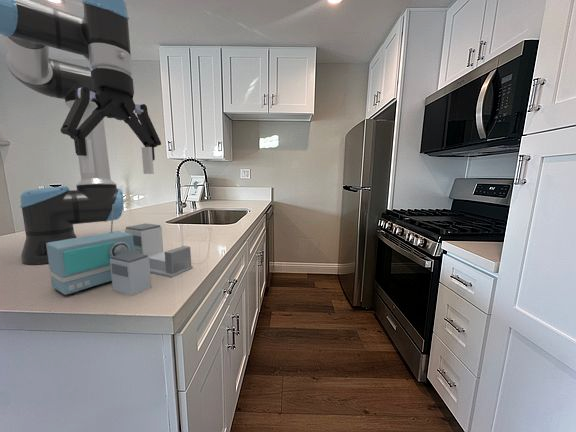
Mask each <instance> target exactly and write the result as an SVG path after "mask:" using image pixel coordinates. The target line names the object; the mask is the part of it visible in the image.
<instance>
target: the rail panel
mask: <svg viewBox="0 0 576 432" xmlns="http://www.w3.org/2000/svg"><path fill="white" fill-rule="evenodd" d="M165 252H166V251H163V252H160V253H157V254H154V255H151V256H148V257H149V263H150V274H154V275H158V276H163V277H167V278H173V277H175V276H178V275H180V274H182V273H185V272H186V271H190V270H191V269H193V267H194V266H193V265H191V266H190V262H189V261H190V259H189V260H188V258H190V257H188V258H187V259H183V260H184V261H183V260H180V262H179V263H178V262H177V263H178V264H181V263H183V265H184V266H185V265H187V266H190V267H187V266H185V267H184V266H183V265H182V266H183V267H184V268H183V267H182V266H181V265H178V266H179V267H176V269H177V268H180V269H179V270H180V271H179V270H176V271H178V272H176V271H174V272H176V273H174V274H171V273H166V264H165ZM185 261H187V262H186V263H187V264H186V263H185ZM184 263H185V264H184ZM173 264H174V263H173ZM175 266H176V264H175ZM175 266H174V267H175ZM180 266H181V267H180ZM186 267H187V268H186ZM182 268H183V270H182ZM174 270H175V268H174Z"/></svg>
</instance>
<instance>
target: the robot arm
mask: <svg viewBox="0 0 576 432" xmlns="http://www.w3.org/2000/svg"><path fill="white" fill-rule="evenodd" d="M81 3H82V4H83V17H81V16H78V15H77V14H74V13H73V14H72V13H69V12H66V11H64V10H61V9H58V8H54V7H52V6H48V5H46V4H42V3H39V2H38V1H37V2H36V1H34V0H0V35H2V37H3V39H4V43H5V46H6V49H7V54H6V57H5V61H6V62H5V63H6V67H7V68H8V70H9V72H10V73H11V75H12V76H13V77H14V78H15V79H16V80H17V81H19V82H20V83H21V84H22V85H24V86H26V87H27V88H28V89H30V90H33V91H34V92H37V93H38V94H42V95H43V96H47V97H51V98H54V99H55V98H56V99H60V100H61V99H62V100H64V102H65V107H67V108H68V109H70V110H69V111H68V114H67V115H66V118H65V120H64V121H63V124H62V126H61V128H60V133H61V134H63V135H67V136H69V137H70V138H71V140H73V142H74V150H75V154H76V156H77V158H78V164H79V171H80V172H79V173H80V181H78V183H77V184H76V185H75V187H76V190H75V189H74V190H73V189H72V190H70V188H69V186H67V185H65V186H64V185H63V186H52V187H46V188H45V187H44V188H43V187H42V188H35V189H29V190H26V191H23V192H22V193H21V194H20V209H21V212H22V219H23V224H24V225H23V226H24V231H25V232H24V233H25V241H24V244H23V247H22V251H21V255H20V259H21V263H22V264H25V265H44V264H45V265H46V264H49V261H48V254H47V247H46V243H49V242H54V241H60V240H66V239H73V238H78V236H77V235H76V233H75V230H74V225H78V224H79V225H81V224H91V223H100V222H101V223H102V222H105V223H107V222H109V221H110V222H111V219H112V205H113V204H114V210H113V221H118V219H120V218H121V216H122V215H123V210H124V209H123V208H124V193H123V190H122V189H121V188H118V187H117V183H115V182H114V181H113V180H112V179H111V170H110V162H109V154H108V143H107V137H106V130H105V129H106V128H105V121H104V119H105V117H106V118H107V119H115V120H118V121H123V122H124V123H125V124H126V125H128V126H129V128H130V129H131V130H132V132H133V133H134V135H136V137H137V139H139V140H140V142H141V144H143V147H141V158H142V159H141V160H142V168H143V169H142V170H143V171H142V172H143V175H145V174H146V175H152V174H153V175H154V174H155V172H154V161H155V160H156V159H155V157H156V156H155V148H157V147H159V146H161V145H162V142H161V140H160V138H159V135H158V133H157V131H156V129H155V127H154V125H153V122H152V119H151V118H150V115H149V112H148V111H149V110H148V107H147V105H146V104H143V103H142V104H137V103H135V101H134V94H135V87H134V79H133V78H132V76H133V66H132V65H133V64H132V54H131V42H130V40H131V39H130V27H129V15H128V9H127V3H126V2H125V0H81ZM49 47H50V48H53V49H57V50H62V51H65V52H67V53H68V52H69V53H73V54H76V55H80V56H83V57H84V58H85V59H86V60H87V61H89V66H82V65H79V64H74V63H71V62H66V61H61V60H58V59H55V58H54V59H53V58H50V57H49V52H50V51H49V49H50V48H49Z"/></svg>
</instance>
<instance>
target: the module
mask: <svg viewBox="0 0 576 432" xmlns="http://www.w3.org/2000/svg"><path fill="white" fill-rule="evenodd" d="M110 267H111V277H112V281H111V284H112V292H113V291H114V292H118V293H120V294H124V295H128V296H130V297H133V296H135V295H138V294H140V293H142V292H144V291H147V290H149V289H151V288H152V279H151V278H152V277H151V273H150V263H149V257H148V255H144V254H139V253H134V252H126V253H123V254H119V255H116V256H112V257H111V259H110Z"/></svg>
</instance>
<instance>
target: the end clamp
mask: <svg viewBox="0 0 576 432" xmlns="http://www.w3.org/2000/svg"><path fill="white" fill-rule="evenodd" d="M164 252H165V264H166V273H171V274H174V273H176V272H178V271H176V270H179V269H180V268H177V269H176V267H179V266H178V265H181V266H182V265H183V263H181V264H178V263H179V262H180V260H183V259H187V258H188V257H190V258H188V260H189V259H190V261H189V262H190V266H192V259H191V258H192V256H191V255H192V254H191V246H188V245H182V246H179V247H175V248H172V249H169V250H167V251H164ZM183 261H184V260H183ZM177 262H178V263H177ZM186 262H187V261H185V263H186ZM173 263H174V264H173ZM185 263H184V264H185ZM175 264H176V266H175ZM186 264H187V263H186ZM174 266H175V267H174ZM181 266H180V267H181ZM183 266H184V265H183ZM183 266H182V267H183ZM185 266H187V265H185ZM185 266H184V267H185ZM190 266H187V267H190ZM184 267H183V268H184ZM187 267H186V268H187ZM174 268H175V270H174ZM183 268H182V270H183ZM174 271H176V272H174ZM179 271H180V270H179Z"/></svg>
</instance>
